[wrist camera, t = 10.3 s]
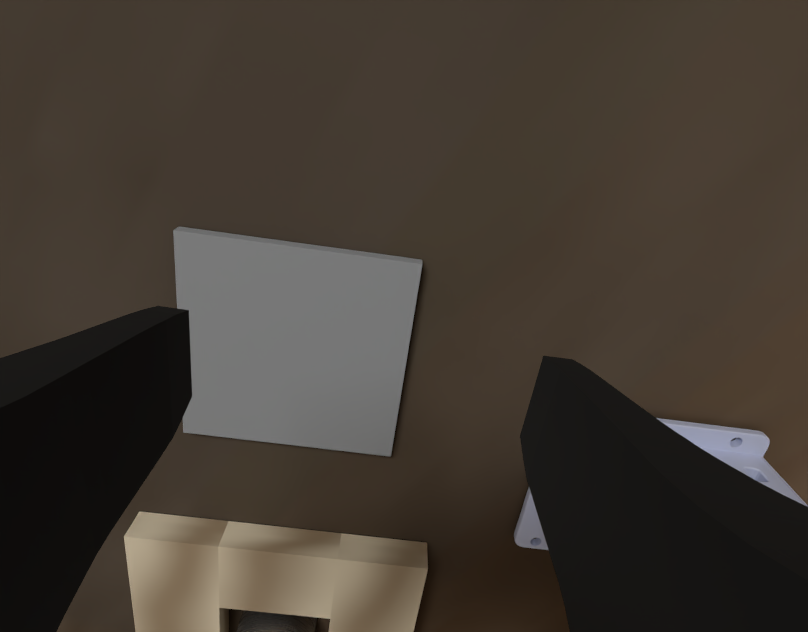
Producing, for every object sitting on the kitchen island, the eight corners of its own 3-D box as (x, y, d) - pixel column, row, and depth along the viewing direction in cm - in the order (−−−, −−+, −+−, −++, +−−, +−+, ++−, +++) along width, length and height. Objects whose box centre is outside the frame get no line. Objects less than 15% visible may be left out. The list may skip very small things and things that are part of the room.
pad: (422, 259, 19) (422, 264, 19) (391, 449, 23) (391, 456, 23) (178, 226, 19) (173, 230, 18) (188, 425, 23) (183, 432, 22)
